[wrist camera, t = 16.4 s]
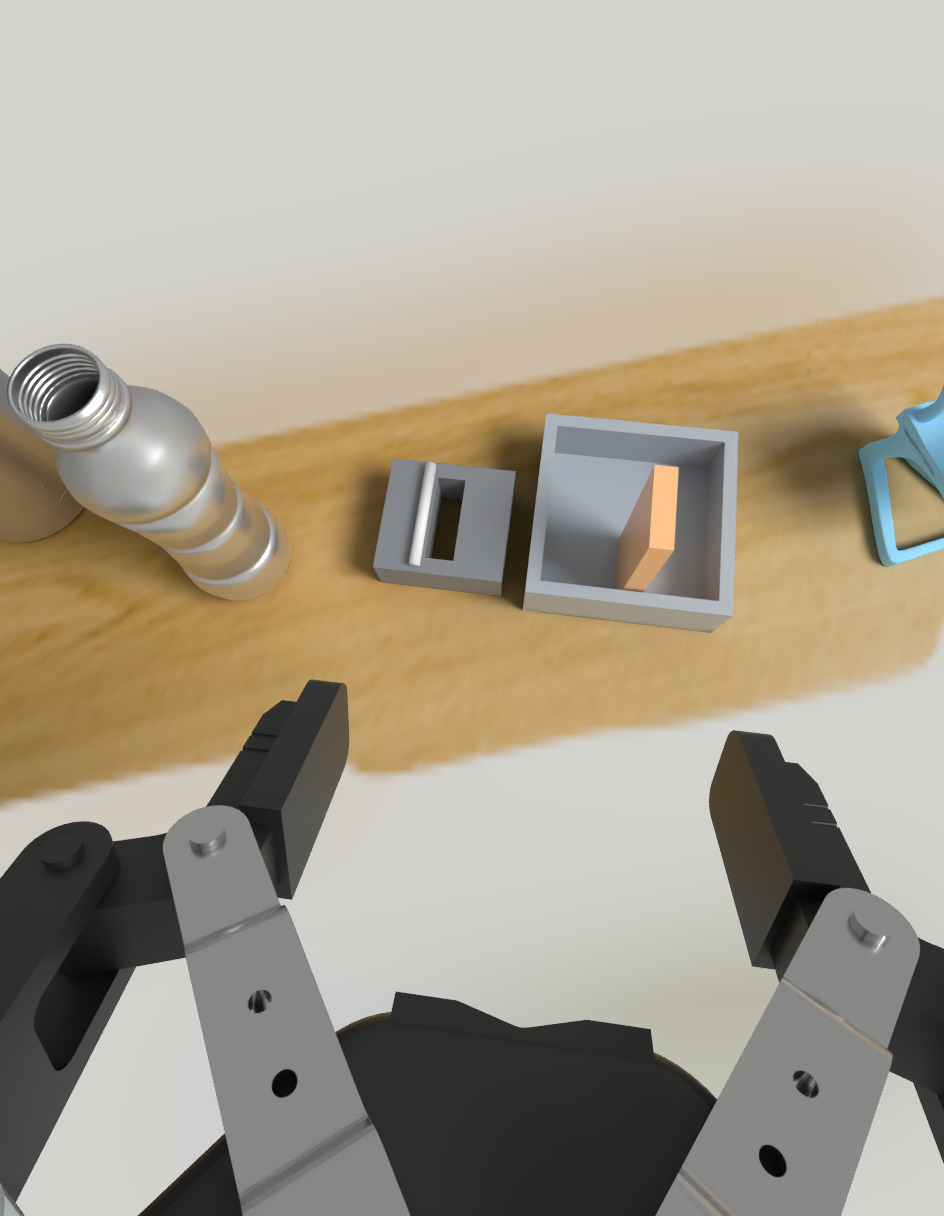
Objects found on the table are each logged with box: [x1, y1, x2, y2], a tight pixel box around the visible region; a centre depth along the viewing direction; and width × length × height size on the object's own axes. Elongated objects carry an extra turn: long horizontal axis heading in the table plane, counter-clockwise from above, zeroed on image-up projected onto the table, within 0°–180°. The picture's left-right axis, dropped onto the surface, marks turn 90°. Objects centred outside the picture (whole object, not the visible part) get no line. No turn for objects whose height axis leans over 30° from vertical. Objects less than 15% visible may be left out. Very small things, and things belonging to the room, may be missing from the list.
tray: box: [523, 413, 738, 632], centre depth 41 cm, size 12×12×4 cm
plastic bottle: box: [7, 344, 291, 601], centre depth 34 cm, size 6×7×20 cm
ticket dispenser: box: [373, 459, 516, 596], centre depth 42 cm, size 8×8×4 cm
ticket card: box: [615, 465, 679, 592], centre depth 37 cm, size 1×4×10 cm, turn 172°
